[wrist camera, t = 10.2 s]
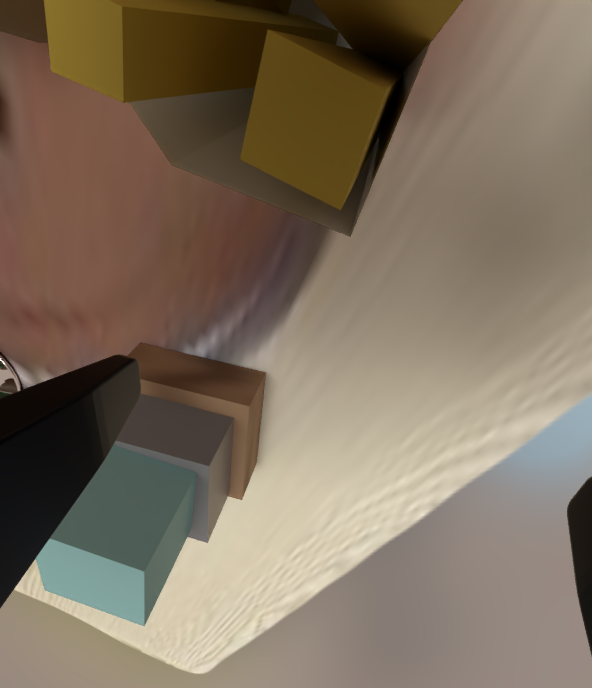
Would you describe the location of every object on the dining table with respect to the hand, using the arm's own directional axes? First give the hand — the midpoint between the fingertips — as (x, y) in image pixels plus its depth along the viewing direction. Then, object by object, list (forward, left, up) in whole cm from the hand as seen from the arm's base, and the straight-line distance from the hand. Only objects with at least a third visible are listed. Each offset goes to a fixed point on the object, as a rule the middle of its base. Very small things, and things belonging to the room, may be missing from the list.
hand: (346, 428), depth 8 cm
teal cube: (+9, +14, -6) cm, 17 cm away
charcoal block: (+9, +14, -10) cm, 19 cm away
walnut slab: (+9, +14, -13) cm, 21 cm away
